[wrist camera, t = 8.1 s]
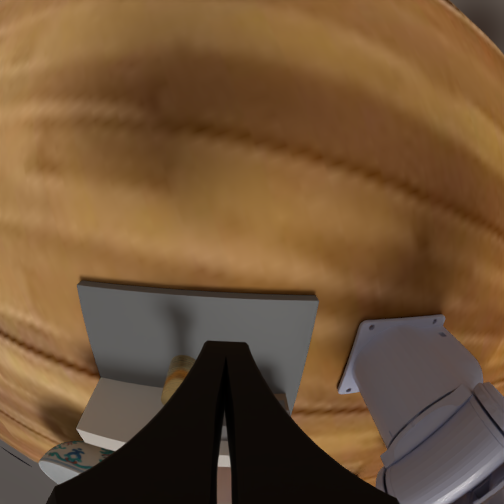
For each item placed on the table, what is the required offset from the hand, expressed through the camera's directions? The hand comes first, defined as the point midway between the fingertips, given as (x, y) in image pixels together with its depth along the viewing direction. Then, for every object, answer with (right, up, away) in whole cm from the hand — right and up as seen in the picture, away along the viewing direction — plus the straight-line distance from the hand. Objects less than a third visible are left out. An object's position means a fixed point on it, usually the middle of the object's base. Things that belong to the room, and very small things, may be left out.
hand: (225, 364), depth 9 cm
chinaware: (-19, -23, +16) cm, 34 cm away
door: (-4, -4, +11) cm, 13 cm away
